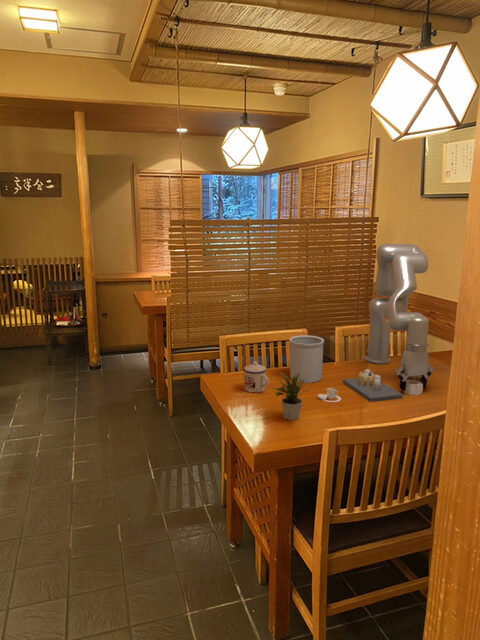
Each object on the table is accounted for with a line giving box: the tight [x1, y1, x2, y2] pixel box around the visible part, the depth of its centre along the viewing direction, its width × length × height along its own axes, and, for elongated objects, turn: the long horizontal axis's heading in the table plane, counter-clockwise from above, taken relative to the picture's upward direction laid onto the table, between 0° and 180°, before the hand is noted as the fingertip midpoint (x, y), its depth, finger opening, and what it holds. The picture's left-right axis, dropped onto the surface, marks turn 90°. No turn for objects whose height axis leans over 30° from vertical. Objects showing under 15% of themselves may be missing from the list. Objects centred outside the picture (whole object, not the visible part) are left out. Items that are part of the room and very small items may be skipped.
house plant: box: [272, 371, 311, 421], centre depth 160 cm, size 14×14×16 cm
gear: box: [403, 379, 424, 396], centre depth 184 cm, size 7×7×4 cm
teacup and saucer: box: [317, 387, 342, 403], centre depth 177 cm, size 9×8×4 cm
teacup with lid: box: [243, 361, 270, 393], centre depth 185 cm, size 12×9×12 cm
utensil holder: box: [288, 334, 325, 384], centre depth 199 cm, size 15×15×18 cm
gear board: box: [342, 368, 404, 403], centre depth 185 cm, size 22×14×8 cm, turn 15°
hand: (412, 388), depth 184 cm, fingers open, 9 cm apart
